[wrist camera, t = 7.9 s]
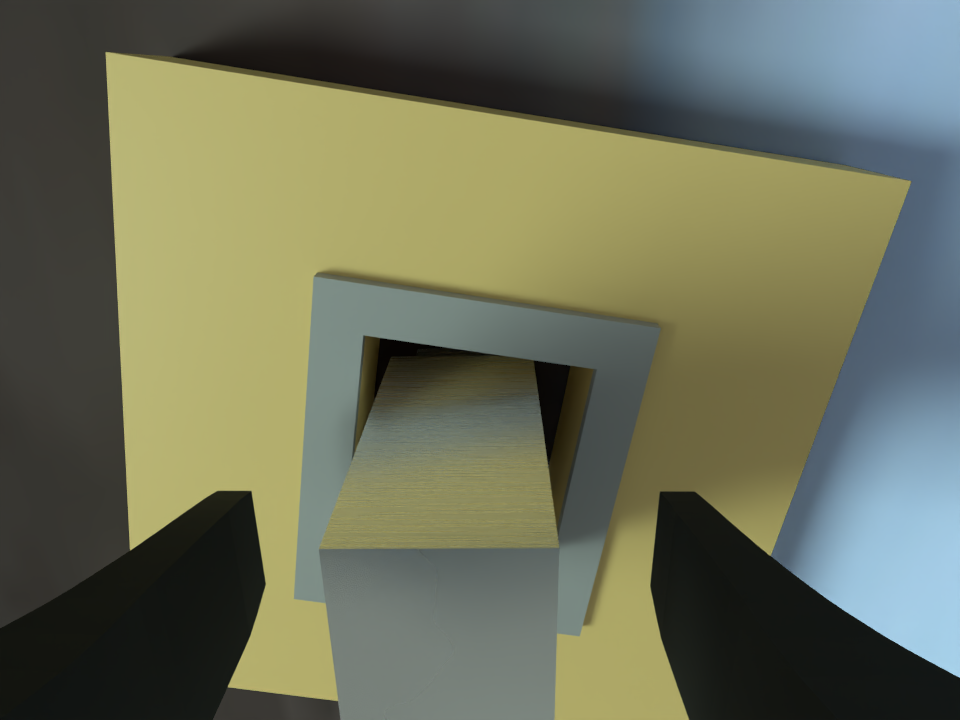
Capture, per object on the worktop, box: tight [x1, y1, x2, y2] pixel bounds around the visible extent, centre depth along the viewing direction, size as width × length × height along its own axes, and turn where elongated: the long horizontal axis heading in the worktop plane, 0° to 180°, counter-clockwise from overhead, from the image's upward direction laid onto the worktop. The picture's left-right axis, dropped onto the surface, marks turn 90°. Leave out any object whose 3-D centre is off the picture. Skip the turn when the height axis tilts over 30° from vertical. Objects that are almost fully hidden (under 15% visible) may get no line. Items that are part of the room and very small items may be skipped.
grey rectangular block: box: [319, 348, 559, 720], centre depth 13 cm, size 3×4×8 cm
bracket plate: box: [106, 52, 912, 720], centre depth 16 cm, size 14×14×3 cm
